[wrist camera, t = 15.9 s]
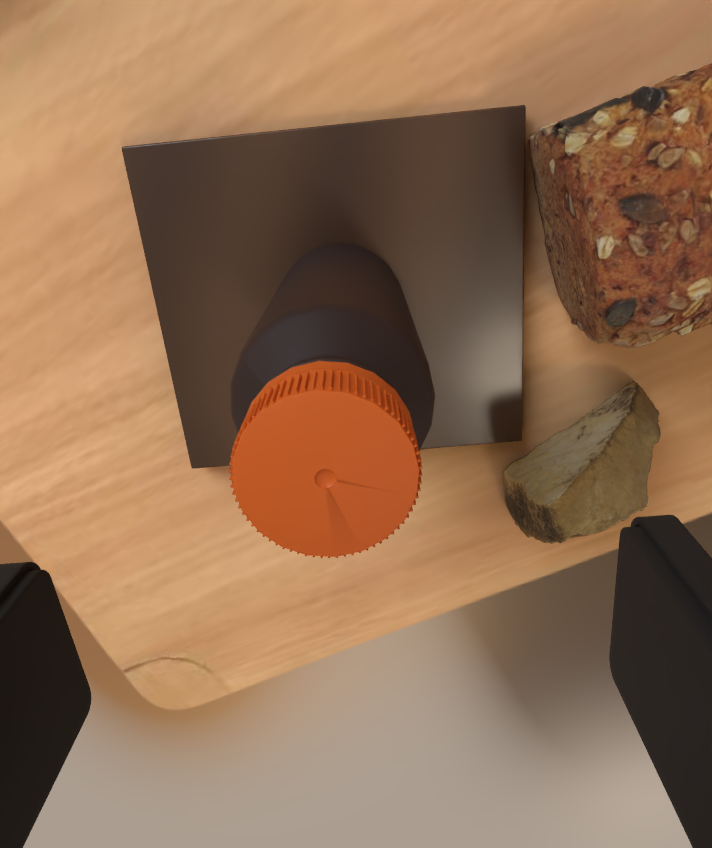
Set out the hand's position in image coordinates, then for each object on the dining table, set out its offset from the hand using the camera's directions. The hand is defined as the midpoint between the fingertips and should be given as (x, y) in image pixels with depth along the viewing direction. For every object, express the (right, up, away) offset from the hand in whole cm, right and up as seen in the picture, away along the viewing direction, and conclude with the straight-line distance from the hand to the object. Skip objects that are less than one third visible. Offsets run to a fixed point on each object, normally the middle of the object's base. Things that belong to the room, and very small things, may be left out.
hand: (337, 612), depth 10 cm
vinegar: (-1, +10, +24) cm, 26 cm away
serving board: (-1, +10, +25) cm, 27 cm away
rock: (+14, +2, +29) cm, 32 cm away
